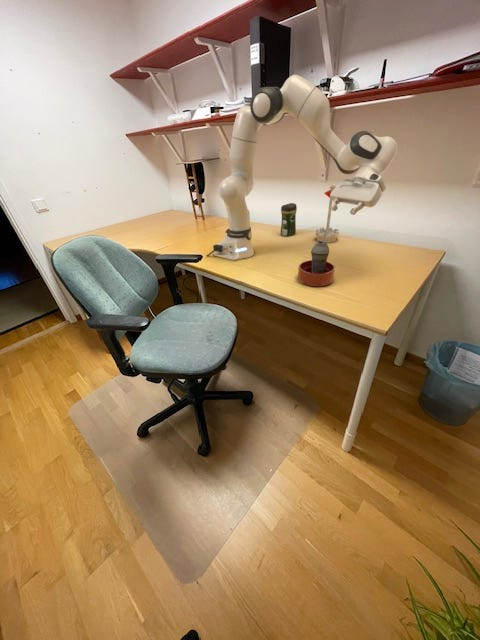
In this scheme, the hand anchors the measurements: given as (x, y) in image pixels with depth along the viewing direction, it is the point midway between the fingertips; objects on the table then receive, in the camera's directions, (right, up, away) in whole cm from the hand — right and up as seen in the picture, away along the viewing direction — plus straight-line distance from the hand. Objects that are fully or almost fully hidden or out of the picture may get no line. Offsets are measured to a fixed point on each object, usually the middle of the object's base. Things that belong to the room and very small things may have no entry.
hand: (342, 211), depth 101 cm
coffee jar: (-10, +12, +64) cm, 66 cm away
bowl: (-8, -26, +10) cm, 28 cm away
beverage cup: (-7, -25, +10) cm, 28 cm away
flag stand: (+11, +5, +51) cm, 52 cm away
